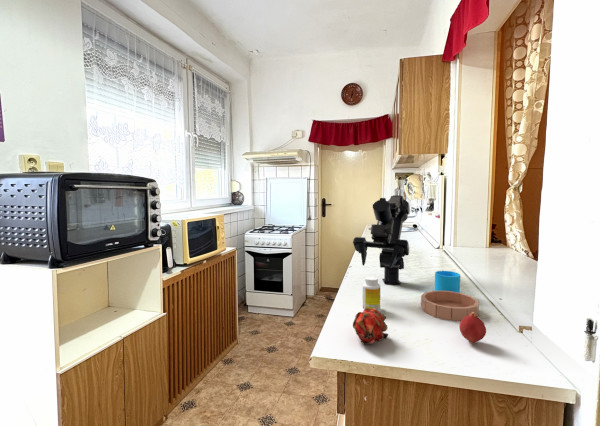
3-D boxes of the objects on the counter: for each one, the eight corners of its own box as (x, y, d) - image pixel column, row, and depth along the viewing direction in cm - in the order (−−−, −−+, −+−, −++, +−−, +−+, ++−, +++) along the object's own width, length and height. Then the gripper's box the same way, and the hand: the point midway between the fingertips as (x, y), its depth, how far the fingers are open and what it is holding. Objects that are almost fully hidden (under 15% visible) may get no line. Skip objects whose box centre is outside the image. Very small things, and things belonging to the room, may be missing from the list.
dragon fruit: (374, 334, 88) (371, 363, 77) (349, 315, 89) (342, 341, 78) (393, 314, 85) (393, 340, 74) (367, 294, 86) (362, 318, 75)
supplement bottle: (383, 311, 101) (384, 279, 100) (368, 313, 99) (368, 281, 98) (374, 305, 106) (374, 275, 105) (359, 307, 104) (359, 276, 103)
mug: (460, 301, 109) (461, 277, 108) (434, 298, 112) (434, 275, 111) (458, 290, 120) (458, 269, 119) (434, 288, 123) (435, 267, 122)
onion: (454, 338, 82) (455, 308, 82) (475, 337, 83) (476, 307, 82) (468, 349, 76) (469, 317, 76) (490, 348, 77) (491, 316, 76)
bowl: (415, 301, 109) (416, 290, 109) (464, 302, 107) (465, 290, 107) (430, 320, 93) (430, 307, 93) (488, 322, 92) (488, 308, 91)
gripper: (354, 214, 115) (344, 250, 106) (408, 216, 107) (402, 255, 98) (360, 233, 123) (351, 268, 114) (411, 236, 114) (406, 274, 105)
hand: (376, 266), depth 107 cm, fingers open, 9 cm apart
